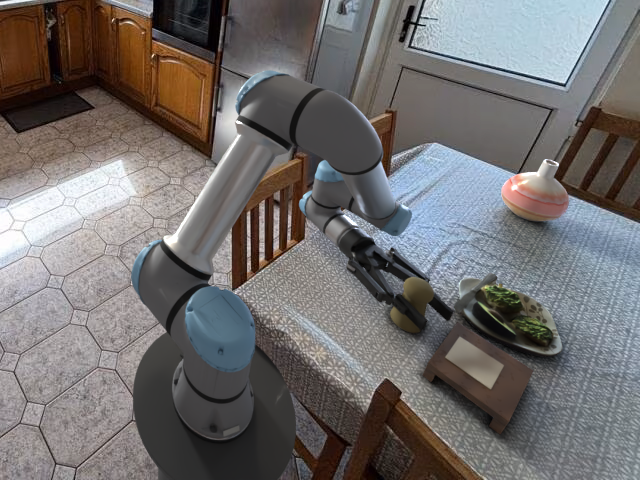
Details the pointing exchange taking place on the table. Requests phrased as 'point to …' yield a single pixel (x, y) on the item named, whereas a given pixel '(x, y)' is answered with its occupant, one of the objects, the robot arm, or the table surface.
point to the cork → (413, 302)
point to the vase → (536, 194)
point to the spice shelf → (480, 373)
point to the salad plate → (508, 316)
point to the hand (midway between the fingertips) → (437, 320)
